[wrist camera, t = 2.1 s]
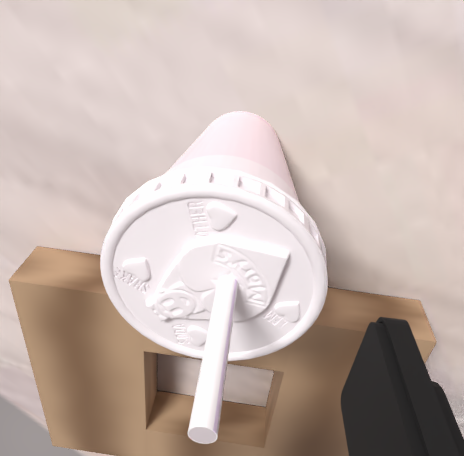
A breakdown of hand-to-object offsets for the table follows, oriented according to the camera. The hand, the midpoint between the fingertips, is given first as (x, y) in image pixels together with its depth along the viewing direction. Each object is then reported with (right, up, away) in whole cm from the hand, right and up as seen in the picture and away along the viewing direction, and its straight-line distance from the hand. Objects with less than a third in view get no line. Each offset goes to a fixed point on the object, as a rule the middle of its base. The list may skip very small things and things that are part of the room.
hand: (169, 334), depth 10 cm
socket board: (0, -7, +18) cm, 19 cm away
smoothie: (+2, +6, +10) cm, 12 cm away
